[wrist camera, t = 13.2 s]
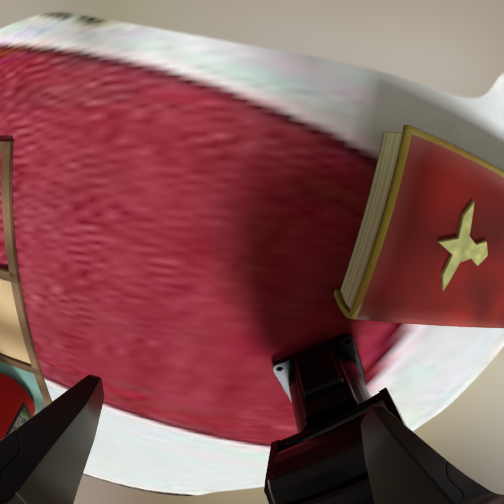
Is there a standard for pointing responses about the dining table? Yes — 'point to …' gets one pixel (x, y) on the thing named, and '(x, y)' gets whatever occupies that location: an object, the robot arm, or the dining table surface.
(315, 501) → the robot arm
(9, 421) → the beverage can
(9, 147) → the brown frame
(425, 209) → the hardcover book
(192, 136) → the dining table surface
